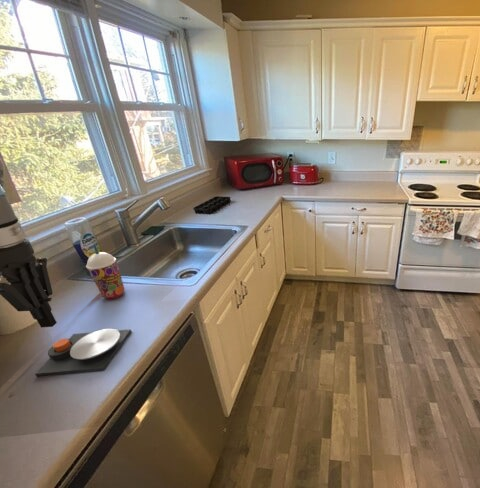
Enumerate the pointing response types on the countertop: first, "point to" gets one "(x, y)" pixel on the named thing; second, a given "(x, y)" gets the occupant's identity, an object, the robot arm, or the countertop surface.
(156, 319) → the countertop surface
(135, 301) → the countertop surface
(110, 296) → the smoothie
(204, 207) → the egg carton
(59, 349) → the tare button
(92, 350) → the platter
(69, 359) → the scale
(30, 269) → the robot arm
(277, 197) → the countertop surface
